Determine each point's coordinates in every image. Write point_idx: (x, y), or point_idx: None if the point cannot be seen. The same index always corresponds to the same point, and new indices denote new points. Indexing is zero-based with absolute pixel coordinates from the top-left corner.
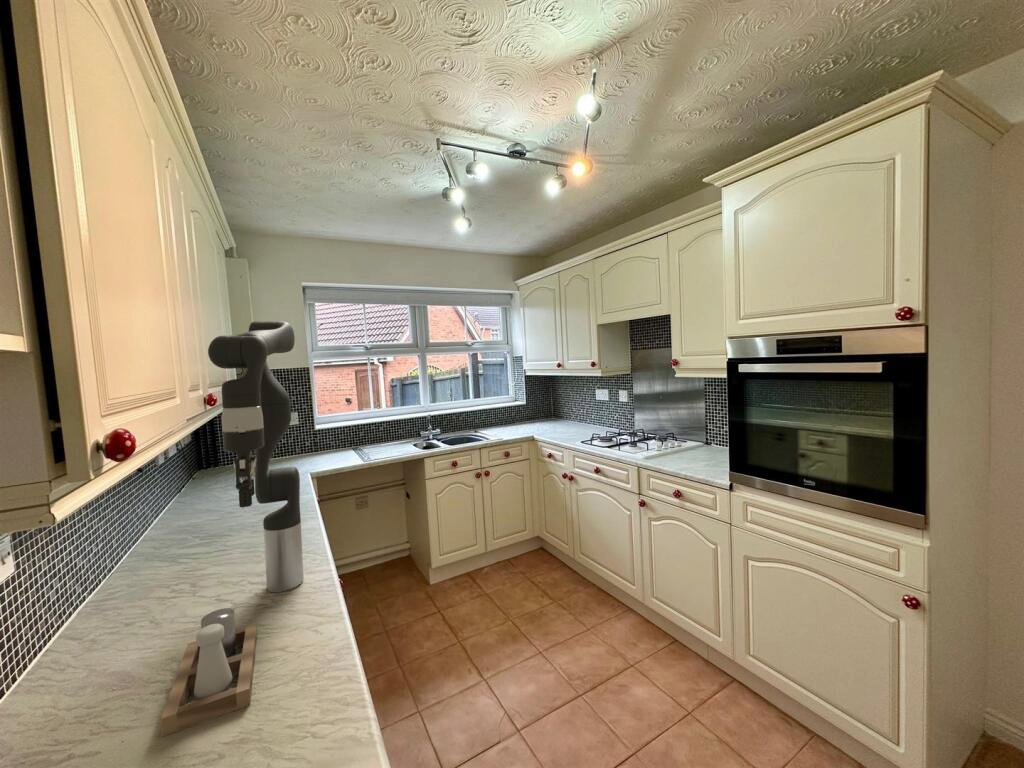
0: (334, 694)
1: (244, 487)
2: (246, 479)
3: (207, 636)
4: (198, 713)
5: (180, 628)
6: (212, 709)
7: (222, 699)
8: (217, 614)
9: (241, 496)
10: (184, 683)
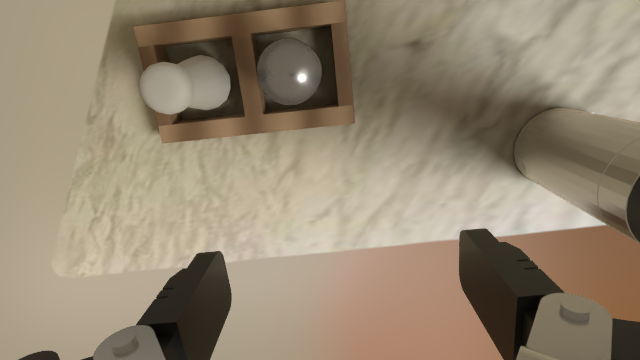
0: (157, 240)
1: None
2: (526, 332)
3: (140, 90)
4: None
5: None
6: None
7: None
8: (297, 70)
9: (148, 311)
10: (211, 35)
